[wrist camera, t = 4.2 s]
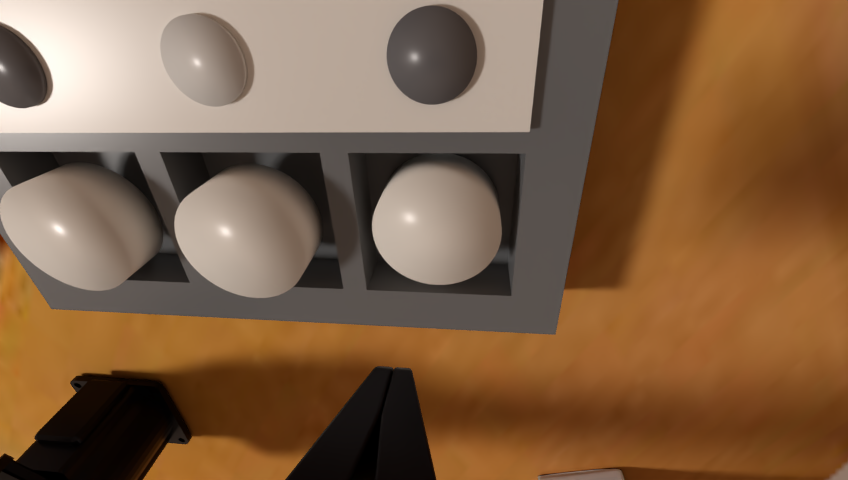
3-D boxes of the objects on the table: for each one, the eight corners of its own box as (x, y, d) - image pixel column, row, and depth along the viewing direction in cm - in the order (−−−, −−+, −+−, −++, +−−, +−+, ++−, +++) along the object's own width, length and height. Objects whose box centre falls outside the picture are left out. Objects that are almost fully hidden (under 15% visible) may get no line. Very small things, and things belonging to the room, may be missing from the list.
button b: (331, 270, 17) (315, 300, 16) (225, 266, 18) (199, 295, 16) (310, 164, 15) (289, 186, 13) (188, 162, 15) (153, 184, 14)
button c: (179, 264, 18) (149, 293, 16) (82, 261, 19) (43, 288, 17) (135, 162, 16) (94, 183, 14) (25, 161, 16) (-28, 182, 14)
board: (544, 290, 20) (557, 343, 17) (99, 272, 22) (42, 315, 19) (601, -68, 12) (641, -86, 9) (-73, -33, 15) (-207, -39, 12)
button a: (495, 258, 18) (497, 287, 16) (387, 255, 18) (378, 282, 16) (503, 152, 15) (506, 173, 13) (376, 152, 16) (365, 172, 14)
